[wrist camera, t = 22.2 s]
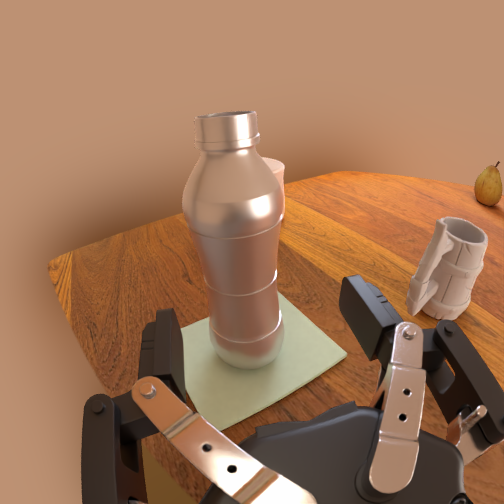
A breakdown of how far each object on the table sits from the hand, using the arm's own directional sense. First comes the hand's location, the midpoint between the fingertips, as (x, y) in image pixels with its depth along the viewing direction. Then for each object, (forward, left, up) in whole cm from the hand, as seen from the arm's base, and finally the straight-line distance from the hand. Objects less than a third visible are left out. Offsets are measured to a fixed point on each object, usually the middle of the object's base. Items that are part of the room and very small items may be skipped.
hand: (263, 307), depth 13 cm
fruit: (+74, +6, -13) cm, 76 cm away
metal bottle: (+2, +7, -12) cm, 14 cm away
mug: (+22, -1, -13) cm, 26 cm away
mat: (+2, +7, -13) cm, 15 cm away
